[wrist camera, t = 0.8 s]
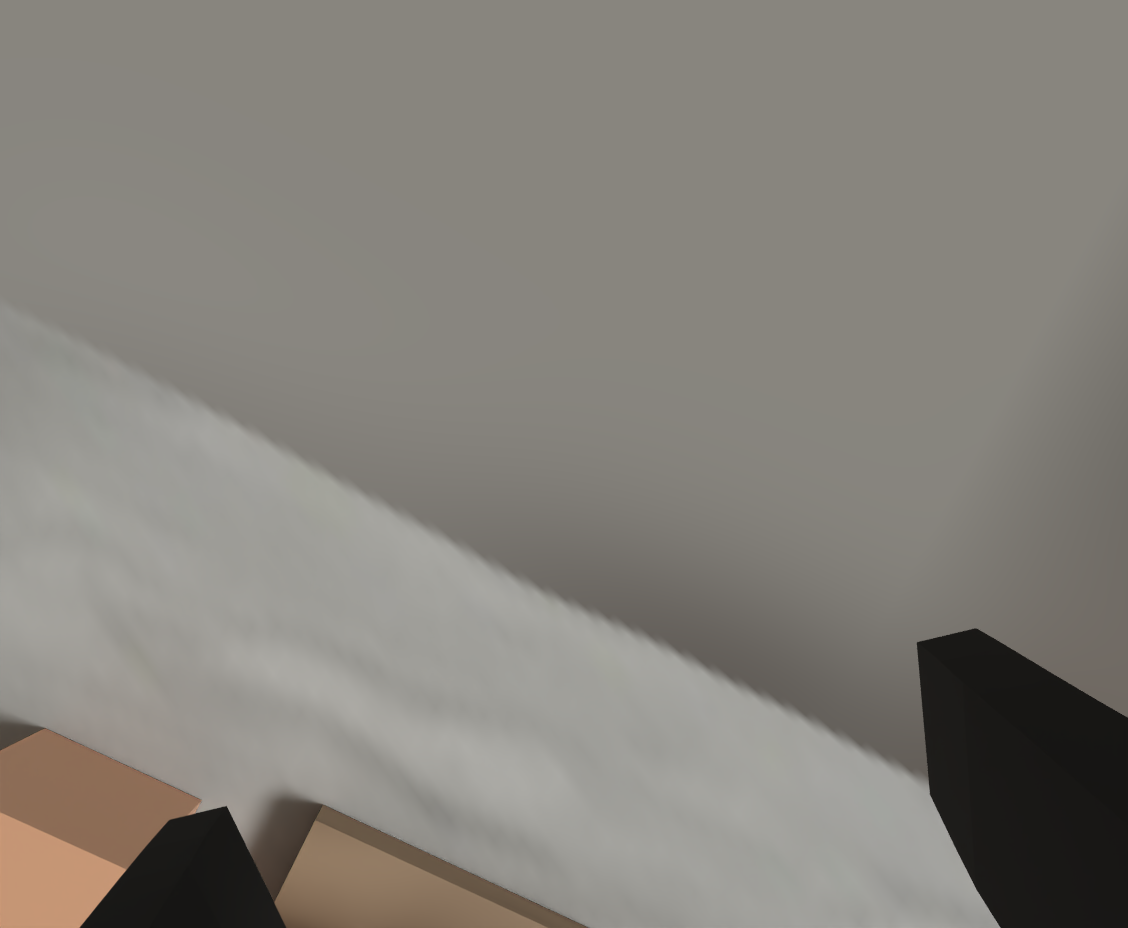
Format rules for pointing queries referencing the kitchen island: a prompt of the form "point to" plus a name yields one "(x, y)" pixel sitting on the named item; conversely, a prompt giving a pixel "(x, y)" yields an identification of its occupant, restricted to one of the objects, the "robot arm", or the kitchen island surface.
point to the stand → (392, 886)
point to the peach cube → (72, 828)
